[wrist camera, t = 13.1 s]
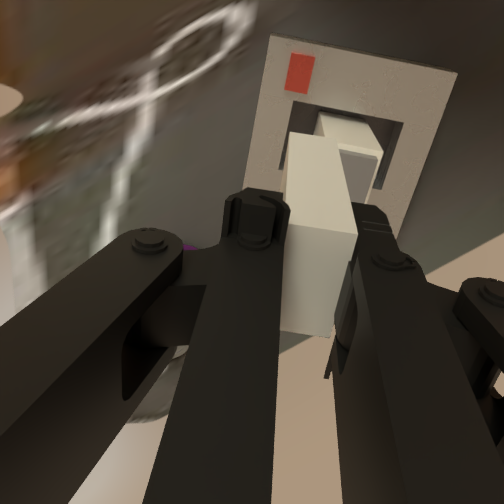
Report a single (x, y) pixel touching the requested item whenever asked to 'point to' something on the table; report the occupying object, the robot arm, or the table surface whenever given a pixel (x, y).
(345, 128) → the plug
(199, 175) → the table surface
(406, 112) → the socket block
